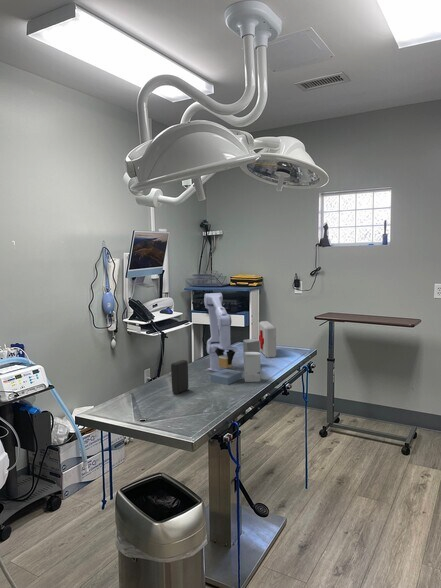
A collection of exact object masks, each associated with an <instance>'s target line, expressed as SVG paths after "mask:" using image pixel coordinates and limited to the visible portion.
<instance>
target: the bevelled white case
mask: <svg viewBox="0 0 441 588" xmlns="http://www.w3.org/2000/svg"><path fill="white" fill-rule="evenodd" d="M258 340H259V341H260V352H262V354H263V355H264V356H265V358H267V359H269V357H274V358H276V357H277V328H276V326H274V325H273V324H272V323H270V322H269V321H267V320H262V321H260V322H259V323H258Z"/></svg>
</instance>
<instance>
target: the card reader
mask: <svg viewBox="0 0 441 588" xmlns="http://www.w3.org/2000/svg"><path fill="white" fill-rule="evenodd" d="M188 365H189V364H188V360H186V359H181V360H177V361H176V362H175V361H174V362H172V363H171V365H170V375H171V376H170V377H171V392H172V393H173V394H176V395H179V394H181V393H183V392H185V391H188V390H189V366H188Z"/></svg>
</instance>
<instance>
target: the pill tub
mask: <svg viewBox="0 0 441 588" xmlns="http://www.w3.org/2000/svg"><path fill="white" fill-rule="evenodd" d="M218 357H219V367H224V368H225V369H229V368H230V367H232V366H233V363H232V364H230V365H229V364H228V357H227V353H226V354H225V353H224V355H221V356H218Z"/></svg>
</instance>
